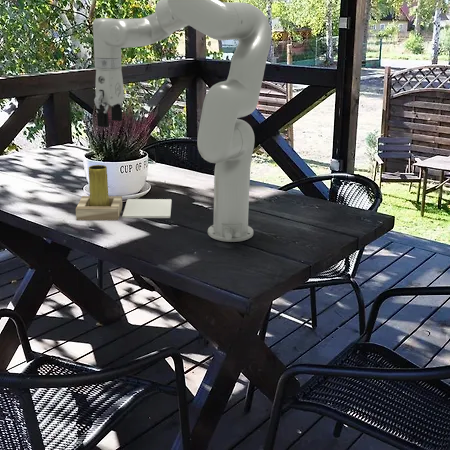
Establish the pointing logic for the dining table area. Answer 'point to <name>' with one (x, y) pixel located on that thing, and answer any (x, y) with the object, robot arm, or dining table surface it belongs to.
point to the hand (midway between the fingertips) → (110, 123)
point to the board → (147, 208)
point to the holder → (99, 209)
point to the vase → (98, 185)
